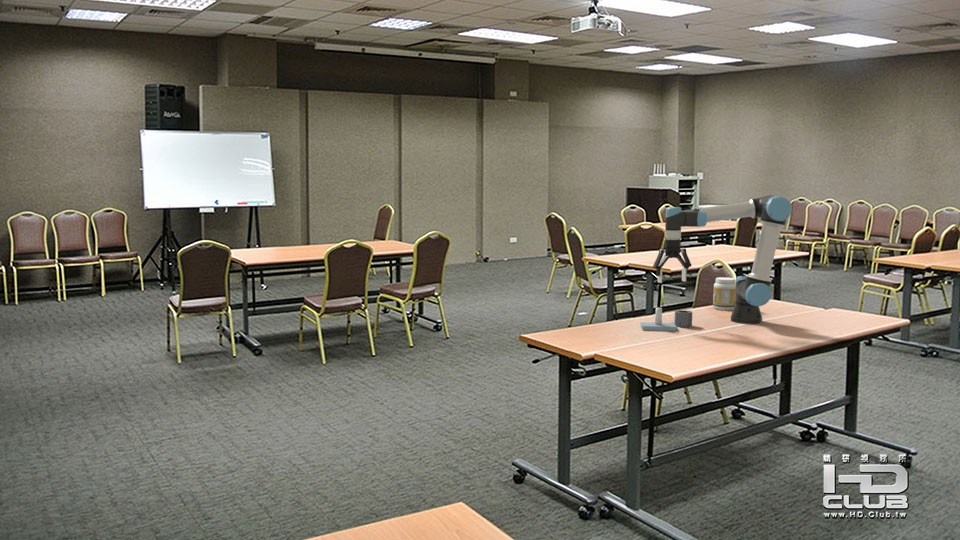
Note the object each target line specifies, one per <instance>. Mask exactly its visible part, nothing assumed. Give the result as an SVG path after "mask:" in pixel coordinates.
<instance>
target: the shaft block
mask: <svg viewBox="0 0 960 540" xmlns="http://www.w3.org/2000/svg"><path fill="white" fill-rule="evenodd" d="M662 321H663V307H656V308H655V320H654V322H647V321H646V322H645V321H644V322H643V321H640V328H641V330H642V331H651V332H652V331H657V332H658V331H659V332H662V331H663V332H677V331H678V330H677V326H676V325H675V324H674V322H662Z"/></svg>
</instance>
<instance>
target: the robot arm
mask: <svg viewBox="0 0 960 540" xmlns="http://www.w3.org/2000/svg"><path fill="white" fill-rule="evenodd" d="M792 210H793V208H792V203H791V202H790V200H789V198H786V197H785V196H783V195H782V196H781V195H772V194H769V195H764V196H762V197H758V198H757V197H756V198H750V199H749V200H748V201H744V202H743V201H742V202H737V203H729V204H722V205H715V206H707V207H701V208H693V209H684V210H683V209H682V207H677V206H676V207H675V206H670V207H667V208H666V209H665V230H664V231H665V232H664V233H665V234H664V235H665V236H664V249H661V248H659V250H658V254H657V257H656V258H655V261H654V263H653V265H652V268H653V269H655V270H656V277H657V283H658V284H659V283H660V284H662V283H663V269H662V268H663V267H664V265H665V264H666V263H667V261H668V260H669V259H677V260H678V262H679V263H680V264H681V266H682V268H681V282H687V275H688V273H689V272H688V271H689V270H688V269H689V268H691V267H692V266H693V265H692V263H691V260H690V258H689V256H688V254H687V249H686V248H684V247H682V246H681V245H682V241H681V239H682V227H683V228H684V227H692V228H700V227H706V226H707V224H708V223H712V222H719V221H727V220H734V219H745V218H752V219H758V218H759V219H760V220H759V221H760V224H761V230H760V233H759V238H758V242H757V246H756V251H755V254H754V255H755V256H754V260H753V264H752V267H751V272H750V273H748V274H747V276H746V275H745V276H744V275H740V276H739V275H738V276H737V277H736V278H735V284H736V294H735V307H734V309H733V310H732V312H731V315H730V321H731V322H735V323H739V324H760V322H761V323H762V322H763V316H762V313H761V312H762V311H761V310H760V307H763V306H764V305H766V304H767V303H769V301H770V300H771V298H772V290H771V285H772V279H771V278H770V275H771V271H772V267H773V263H774V259H775V255H776V250H777V247H778V242H779V238H780V233H781V230H782V228H784V227H786V223H787V220H788V218H789V217H791V214H792ZM681 247H682V248H681ZM680 253H681V254H680Z"/></svg>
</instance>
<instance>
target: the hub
mask: <svg viewBox="0 0 960 540" xmlns="http://www.w3.org/2000/svg"><path fill="white" fill-rule="evenodd" d="M673 319H674V320H673V321H674V322H673V323H674V324H675V325H676V327H678V328H691V327H693V311H692V310H687V309H686V310H685V309H683V310H674V317H673Z"/></svg>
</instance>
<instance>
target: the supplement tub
mask: <svg viewBox="0 0 960 540" xmlns="http://www.w3.org/2000/svg"><path fill="white" fill-rule="evenodd" d="M735 294H736V278H733V277H727V276H726V277H721V276H720V277H719V276H718V277H716V278H715V282H714V284H713V294H712V295H713V296H712V297H713V298H712V299H713V300H712V307H713V309H714V310H719V311H733V309H734V307H735Z"/></svg>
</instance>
